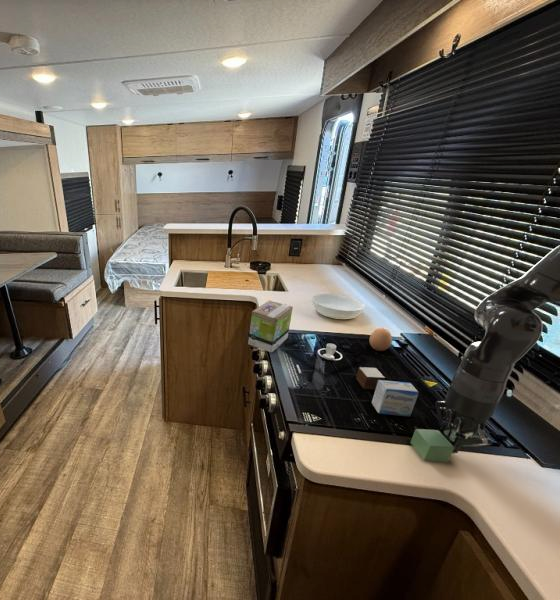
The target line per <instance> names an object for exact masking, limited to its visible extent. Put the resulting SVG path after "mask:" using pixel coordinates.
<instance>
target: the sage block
mask: <svg viewBox="0 0 560 600" xmlns="http://www.w3.org/2000/svg"><path fill="white" fill-rule="evenodd" d="M444 436H445V435H443V433H442V432H441V431H440V430H439V429H424V428H415V429H414V432H413V434H412V438H411V440H410V442H409V443H410V444H411V446H412V447H413V448H414V449H415V451H416V452H417V453H418V454H419V456H420V457H421V459H422V460H423V461H429V462H430V461H431V462H432V461H433V462H443V463H448V462H449V460H450V458H451V456H452V454H453V453H452V452H453V450H454V446H453V445H452V444H451V443H450V442H449V441H448V440H447V439H446V438H445V437H444Z"/></svg>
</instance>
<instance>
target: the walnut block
mask: <svg viewBox="0 0 560 600" xmlns="http://www.w3.org/2000/svg"><path fill="white" fill-rule="evenodd" d="M385 379H386V377H385V376H384V375H383V373H381V371H379V369H378V368H377V367H364V366H363V367H362V366H359V367H358V369H357V373H356V377H355V380H356V381H357V382H358V383H359V385H360V386H361V388H362V389H363V390H376V386H377V383H378V380H384V381H385Z"/></svg>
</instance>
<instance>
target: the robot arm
mask: <svg viewBox="0 0 560 600" xmlns="http://www.w3.org/2000/svg"><path fill="white" fill-rule="evenodd" d="M547 303H555V304H560V244H559V245H558V246H555V248H553V249H552V250H551V251H549V252H548V253H547V254H546V255H545V256H544V257H543V258H541V260H540V261H538V262H537V263H536V264H534V266H532V267H531V268H530V269H529V270H528V271H526V272H525V274H523V275H522V276H521V277H519V278H517V279H515V280H513V281H511V282H509V283H508V284H506V285H505V286H502V287H500V288H499V289H497V290H496V291H494V292H492V293H491V294H489V295H488V296H486V297H485V298H484V299H482V301H480V302H479V304H478V305H477V307H476V308H475V310H474V314H473V317H474V320H475V322H476V324H478V325H479V326H480V327H481V328H482V329H483V330H484V331H485V333H484V336H483V338H482V340H481V341H475V342H472V343H470V344H469V345H468V346H467V348H466V350H465V352H464V354H463V356H462V359H461V361H460V364H459V366H458V367H457V369H456V371H455V373H454V375H453V377H452V380H451V382H450V384H449V387H448V388H447V389H448V390H447V392H446V394H445V397H444V400H436V401H434V405H435V409H436V416H437V420H438V425H439V427H440V428H442V429H443V434H444V435H443V436H444V437H445V438H446V439H447V440H448V441H449V442H450V443H451V444H452V445H453V446H454V450H453V452H452V454H458V453H459V451H460V449H461V447H469V448H470V447H471V448H473V447H481V446H492V445H493V441H492V439H491V438H489V437H487V438H486V436H485V433H484V430H486V421H488V420H489V419H490V418H492V417H493V415H494V413H495V411H496V410H497V407H498V405H499V403H500V402H501V399H502V397H503V395H504V392H505V390H506V387H507V383H508V381H509V379H510V376H511V374H512V372H513V371H514V368H515V365H516V363H517V362H518V361H519V360H521V359H522V358H523V357H524V356H525V355H526V354H527V353H528V352H529V351H530V350H531V349H532V348H533V347H534V346H535V345H536V344H537V342H538V341H539V340H540V338H541V336H542V333H543V328H544V327H543V326H544V325H543V321H542V319H541V317H540V316H539V315H538V314H537V313H536V312H535V311H534V310H537V308H538V309H539V307H541V306H543V305H545V304H547Z"/></svg>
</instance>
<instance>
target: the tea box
mask: <svg viewBox="0 0 560 600" xmlns="http://www.w3.org/2000/svg"><path fill="white" fill-rule="evenodd" d="M293 309H294V307H293V306H292V305H289V304H288V305H287V304H285V303H281V302H278V301H273V300H267V301H266V302H265V303H263V304H261V305H260V306H258V307H257V308H255V309H253V310H252V312H251V318H250V328H249V333H248V341H247V345H248V346H252V347H254V348H258V349H260V350H263V351H266V352H267V353H268V352H269V353H271V354H272V353H273V352H274V351H276V349H278V348H279V347H280V346H281V345H282V344H283V343H284V342H285V341H286V340H287V339H288V338H289V337H288V336H289V331H290V326H291V320H292V315H293Z"/></svg>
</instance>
